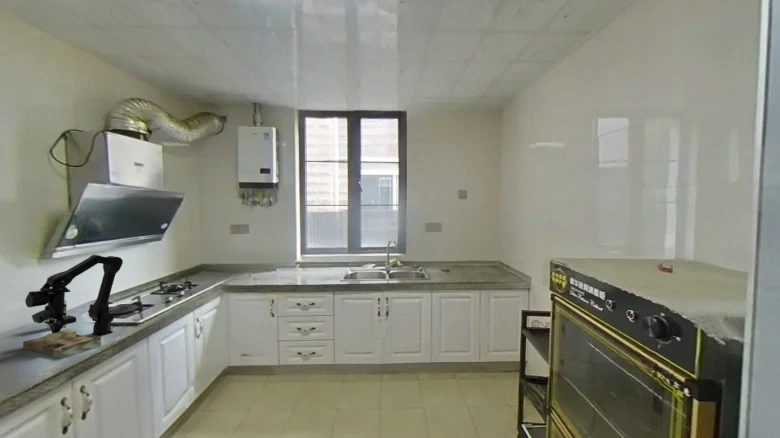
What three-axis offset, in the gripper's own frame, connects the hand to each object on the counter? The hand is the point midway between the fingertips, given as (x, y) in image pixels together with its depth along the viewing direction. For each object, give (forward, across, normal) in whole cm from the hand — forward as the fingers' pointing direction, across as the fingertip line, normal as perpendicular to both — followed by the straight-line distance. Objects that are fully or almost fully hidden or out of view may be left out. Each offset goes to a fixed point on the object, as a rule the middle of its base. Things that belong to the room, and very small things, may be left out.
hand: (55, 336), depth 178 cm
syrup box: (+5, -26, +16) cm, 31 cm away
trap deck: (+4, +5, 0) cm, 7 cm away
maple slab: (+1, +4, 0) cm, 4 cm away
